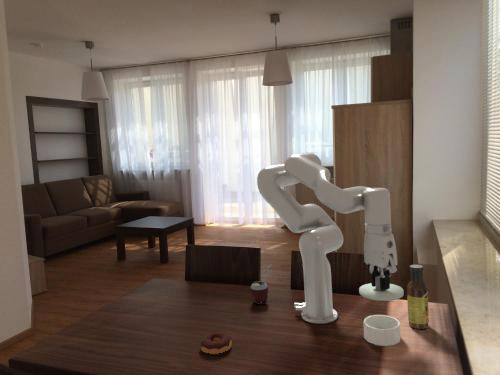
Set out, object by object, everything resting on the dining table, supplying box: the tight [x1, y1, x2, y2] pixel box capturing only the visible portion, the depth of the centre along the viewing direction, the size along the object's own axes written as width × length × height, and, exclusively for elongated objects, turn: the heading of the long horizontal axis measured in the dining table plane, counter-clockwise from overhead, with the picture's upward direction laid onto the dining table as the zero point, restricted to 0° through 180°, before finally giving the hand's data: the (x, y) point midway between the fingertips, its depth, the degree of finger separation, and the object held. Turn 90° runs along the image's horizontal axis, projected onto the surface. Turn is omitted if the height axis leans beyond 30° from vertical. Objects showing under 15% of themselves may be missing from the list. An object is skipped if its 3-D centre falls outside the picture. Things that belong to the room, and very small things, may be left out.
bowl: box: [363, 314, 401, 347], centre depth 127 cm, size 11×11×5 cm
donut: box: [199, 331, 233, 355], centre depth 128 cm, size 10×10×4 cm
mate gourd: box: [249, 263, 273, 305], centre depth 162 cm, size 8×8×15 cm
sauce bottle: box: [406, 264, 430, 330], centre depth 133 cm, size 7×6×20 cm
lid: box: [358, 275, 405, 302], centre depth 126 cm, size 13×13×5 cm
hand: (380, 287), depth 126 cm, fingers closed on lid, 3 cm apart
